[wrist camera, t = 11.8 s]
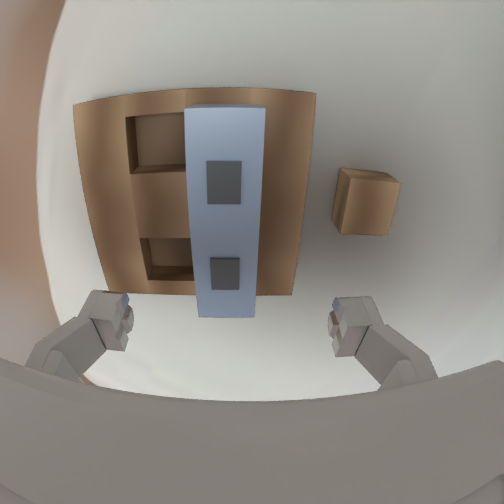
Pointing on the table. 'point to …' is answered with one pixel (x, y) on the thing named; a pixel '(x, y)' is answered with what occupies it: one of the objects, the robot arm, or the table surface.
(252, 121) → the strip
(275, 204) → the board
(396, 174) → the table surface
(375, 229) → the block
